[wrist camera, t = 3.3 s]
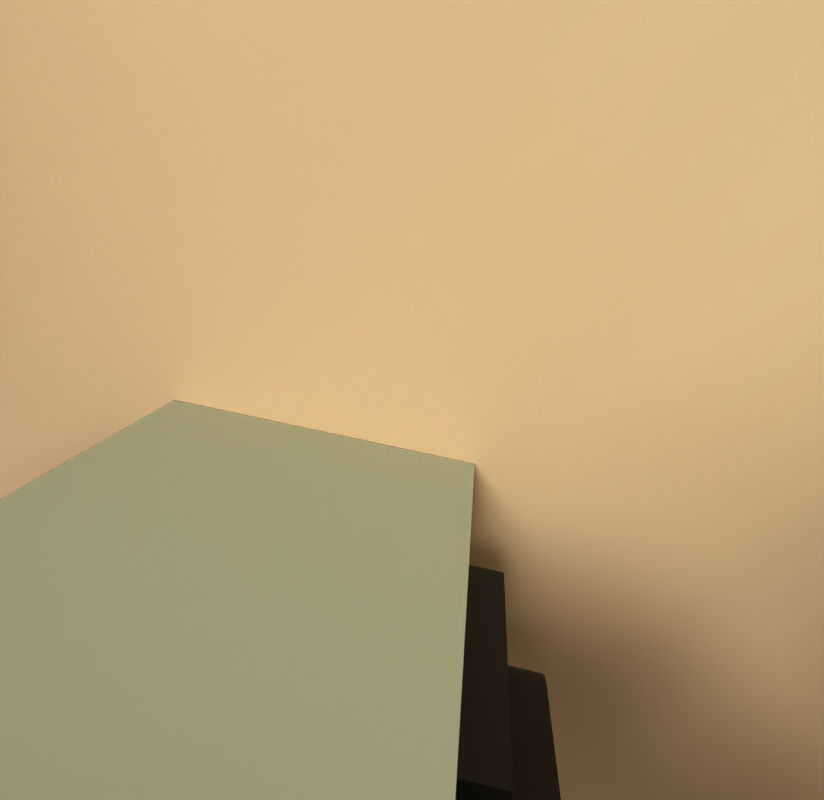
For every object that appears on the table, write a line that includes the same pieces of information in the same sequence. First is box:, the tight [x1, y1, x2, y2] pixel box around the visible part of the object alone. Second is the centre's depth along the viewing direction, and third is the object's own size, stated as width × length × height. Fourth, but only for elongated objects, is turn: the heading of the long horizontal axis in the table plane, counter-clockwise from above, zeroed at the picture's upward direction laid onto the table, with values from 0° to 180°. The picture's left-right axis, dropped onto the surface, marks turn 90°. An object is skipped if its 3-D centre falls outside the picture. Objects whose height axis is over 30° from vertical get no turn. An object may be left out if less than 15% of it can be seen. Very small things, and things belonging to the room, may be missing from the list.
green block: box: [0, 400, 475, 800], centre depth 8 cm, size 5×5×8 cm
